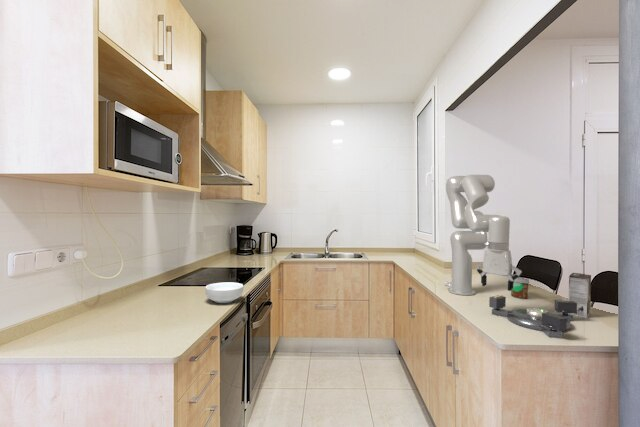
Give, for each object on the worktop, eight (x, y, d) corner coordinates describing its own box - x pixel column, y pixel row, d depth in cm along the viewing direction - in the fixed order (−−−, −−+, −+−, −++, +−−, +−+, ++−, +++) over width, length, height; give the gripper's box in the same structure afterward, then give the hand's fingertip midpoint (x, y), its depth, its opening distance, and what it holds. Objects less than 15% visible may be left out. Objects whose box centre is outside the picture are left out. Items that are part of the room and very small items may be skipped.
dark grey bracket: (498, 309, 133) (498, 298, 132) (487, 306, 136) (487, 296, 136) (507, 306, 136) (507, 296, 136) (496, 304, 140) (496, 294, 140)
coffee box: (571, 309, 143) (572, 272, 143) (590, 313, 138) (591, 274, 138) (567, 314, 137) (568, 275, 136) (587, 318, 132) (588, 277, 132)
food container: (504, 293, 171) (504, 273, 170) (517, 293, 170) (517, 274, 170) (514, 299, 158) (515, 278, 158) (528, 300, 158) (529, 279, 157)
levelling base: (480, 321, 126) (481, 303, 126) (504, 305, 148) (504, 290, 148) (564, 341, 108) (565, 320, 108) (577, 319, 130) (577, 301, 130)
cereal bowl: (249, 302, 149) (249, 287, 149) (211, 308, 140) (211, 292, 140) (235, 294, 163) (235, 280, 163) (200, 299, 154) (200, 284, 154)
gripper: (472, 245, 139) (471, 285, 140) (519, 249, 127) (518, 294, 128) (479, 243, 145) (477, 282, 145) (524, 247, 133) (523, 290, 133)
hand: (496, 287), depth 137 cm, fingers open, 9 cm apart
